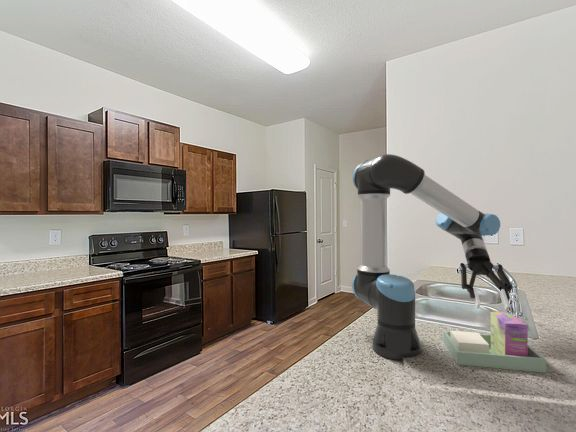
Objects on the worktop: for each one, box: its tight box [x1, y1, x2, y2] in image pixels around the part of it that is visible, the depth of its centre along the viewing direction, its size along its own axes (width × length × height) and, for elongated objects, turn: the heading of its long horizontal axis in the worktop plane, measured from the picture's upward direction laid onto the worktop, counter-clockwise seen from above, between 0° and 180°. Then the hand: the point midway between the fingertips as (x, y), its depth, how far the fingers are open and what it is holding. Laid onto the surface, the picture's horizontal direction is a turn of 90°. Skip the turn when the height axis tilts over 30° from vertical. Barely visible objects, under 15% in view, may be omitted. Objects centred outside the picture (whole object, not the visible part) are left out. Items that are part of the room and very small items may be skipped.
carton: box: [449, 330, 489, 353], centre depth 92 cm, size 8×9×5 cm
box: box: [490, 311, 529, 357], centre depth 90 cm, size 10×6×12 cm, turn 165°
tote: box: [442, 330, 547, 374], centre depth 91 cm, size 22×16×4 cm
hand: (492, 307), depth 100 cm, fingers open, 8 cm apart
